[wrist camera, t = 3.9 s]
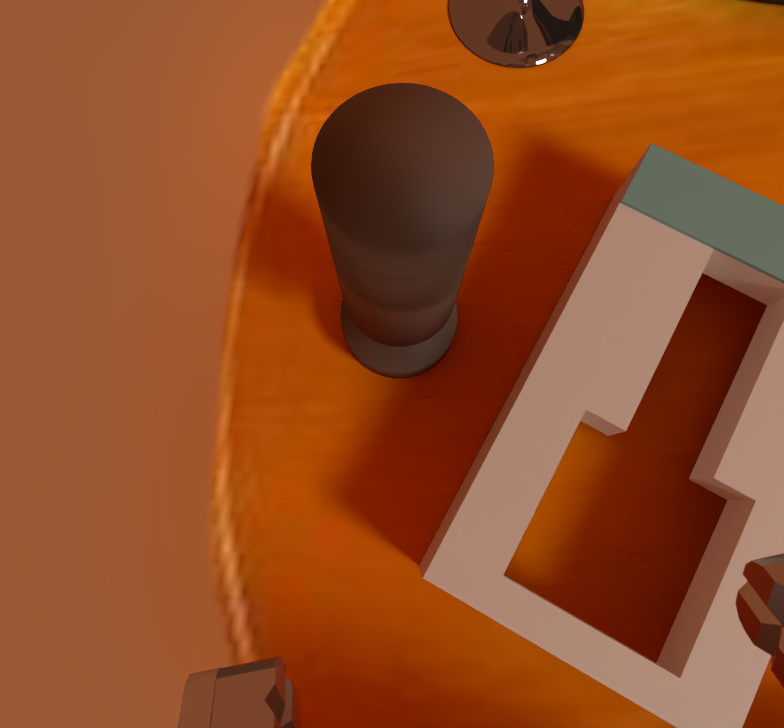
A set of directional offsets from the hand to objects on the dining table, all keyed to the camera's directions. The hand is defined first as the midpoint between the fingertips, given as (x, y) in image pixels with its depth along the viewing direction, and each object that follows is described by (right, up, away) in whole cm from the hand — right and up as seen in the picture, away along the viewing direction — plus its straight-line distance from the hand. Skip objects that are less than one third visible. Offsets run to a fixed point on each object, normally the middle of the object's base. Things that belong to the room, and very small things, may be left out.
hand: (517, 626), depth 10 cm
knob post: (-2, +6, +18) cm, 19 cm away
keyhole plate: (+9, +2, +17) cm, 19 cm away
